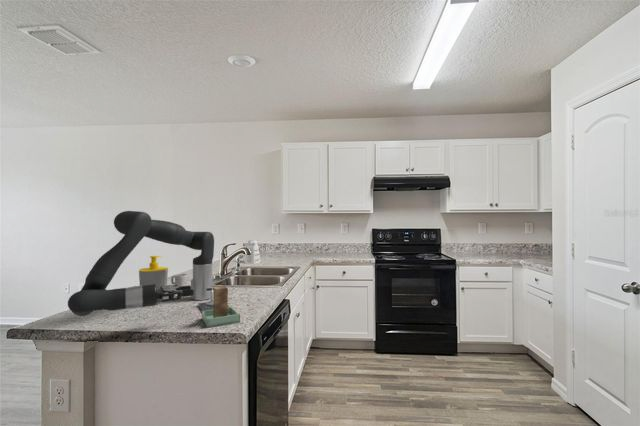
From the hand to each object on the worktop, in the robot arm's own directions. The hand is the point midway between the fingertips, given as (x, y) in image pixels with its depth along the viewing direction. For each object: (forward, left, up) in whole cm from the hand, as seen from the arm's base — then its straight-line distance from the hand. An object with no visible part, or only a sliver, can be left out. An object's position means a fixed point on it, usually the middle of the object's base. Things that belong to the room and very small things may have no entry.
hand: (191, 290), depth 119 cm
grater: (-56, +158, -13) cm, 168 cm away
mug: (-53, +58, -13) cm, 79 cm away
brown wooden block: (+8, +7, -12) cm, 16 cm away
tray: (+8, +7, -13) cm, 17 cm away
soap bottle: (-45, +30, -13) cm, 55 cm away
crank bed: (-5, +22, -13) cm, 26 cm away
